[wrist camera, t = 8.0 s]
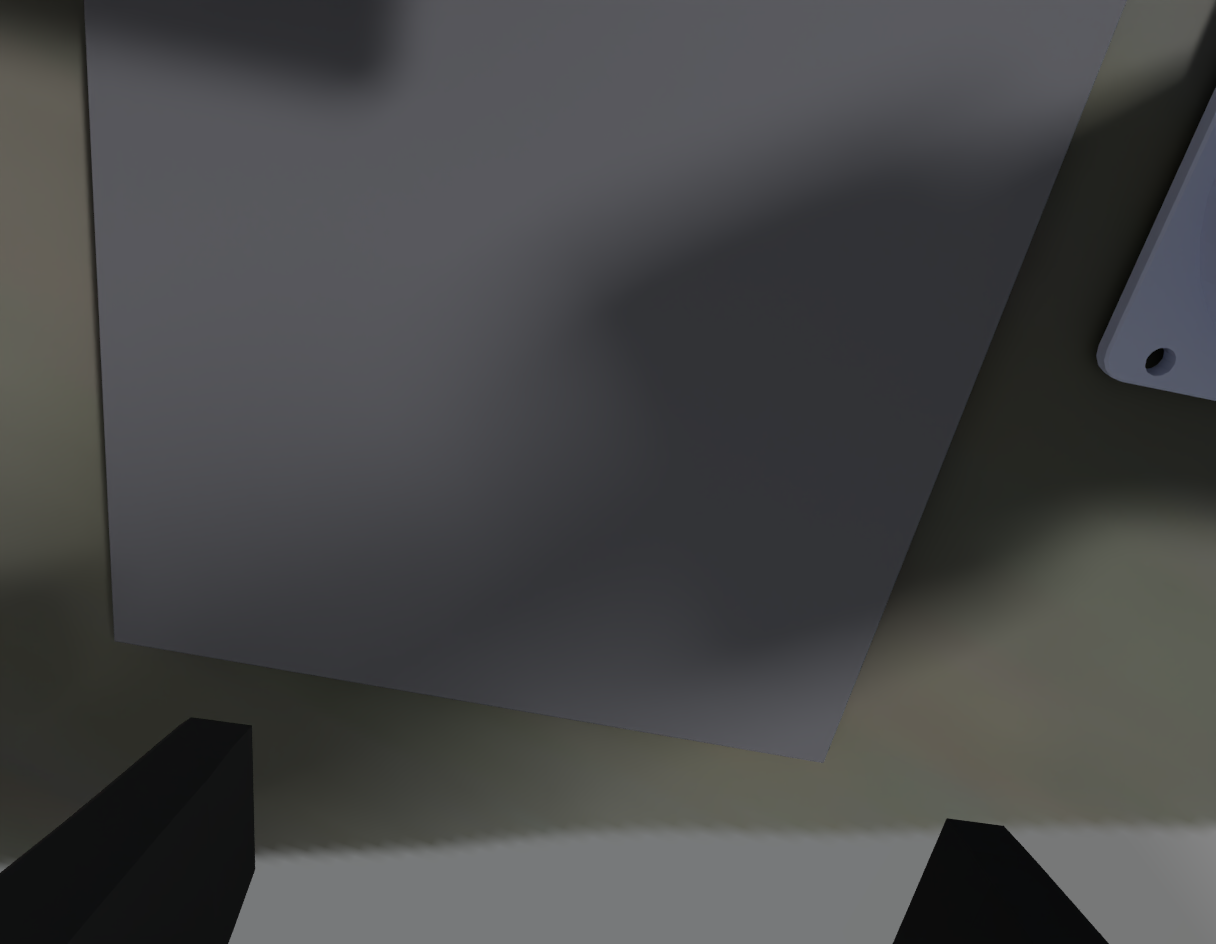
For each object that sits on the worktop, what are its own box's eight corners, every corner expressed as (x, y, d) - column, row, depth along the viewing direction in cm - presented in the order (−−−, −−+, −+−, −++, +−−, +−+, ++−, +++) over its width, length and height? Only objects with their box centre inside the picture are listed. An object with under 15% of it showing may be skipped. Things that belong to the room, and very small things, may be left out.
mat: (1119, -14, 14) (1133, -16, 14) (819, 750, 21) (823, 763, 20) (87, -256, 13) (71, -266, 13) (124, 630, 20) (114, 641, 20)
